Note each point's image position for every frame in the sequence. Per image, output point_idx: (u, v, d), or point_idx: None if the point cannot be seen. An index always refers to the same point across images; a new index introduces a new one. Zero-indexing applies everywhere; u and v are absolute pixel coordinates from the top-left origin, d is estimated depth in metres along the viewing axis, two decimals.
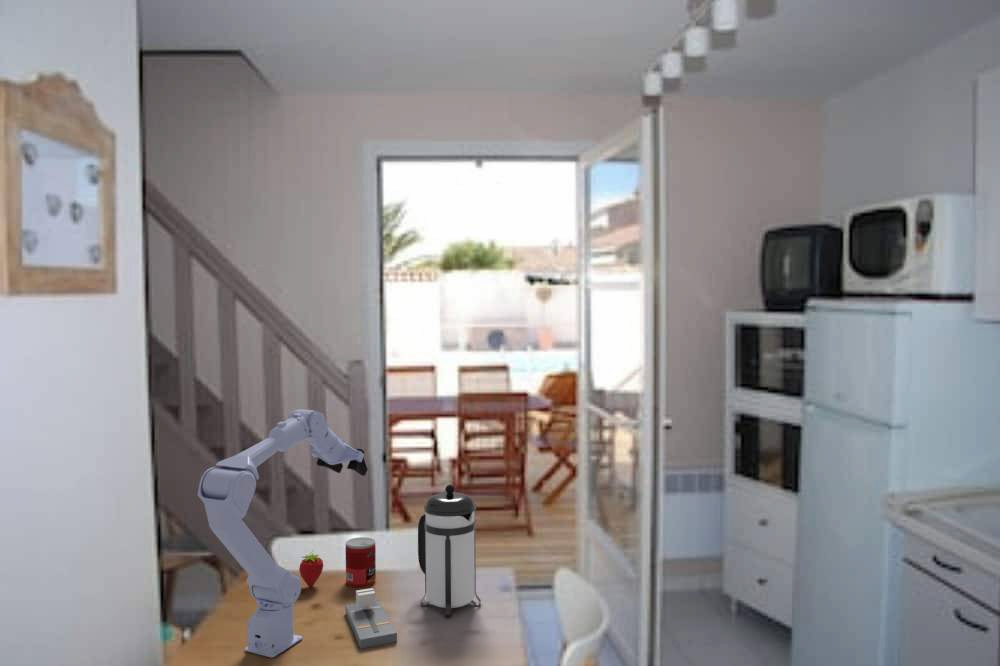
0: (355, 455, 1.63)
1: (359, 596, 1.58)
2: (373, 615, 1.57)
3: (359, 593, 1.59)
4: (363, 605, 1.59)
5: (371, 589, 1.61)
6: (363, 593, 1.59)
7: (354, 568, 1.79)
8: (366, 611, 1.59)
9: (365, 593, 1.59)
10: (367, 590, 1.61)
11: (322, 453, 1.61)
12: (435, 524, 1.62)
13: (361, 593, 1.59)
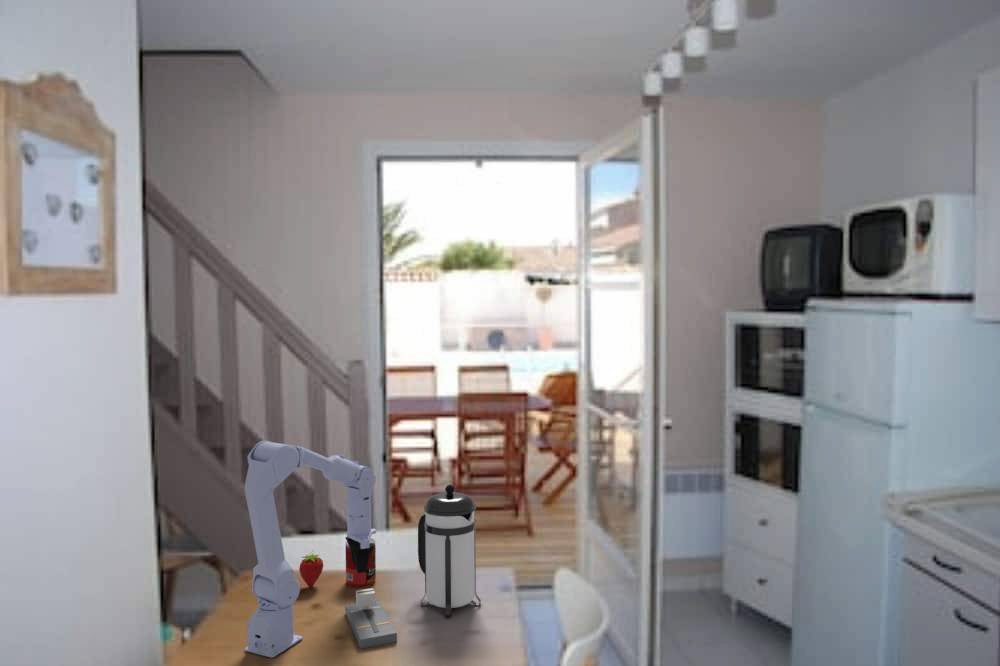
0: (363, 539, 1.61)
1: (359, 596, 1.58)
2: (373, 615, 1.57)
3: (359, 593, 1.59)
4: (363, 605, 1.59)
5: (371, 589, 1.61)
6: (363, 593, 1.59)
7: (354, 568, 1.79)
8: (366, 611, 1.59)
9: (365, 593, 1.59)
10: (367, 590, 1.61)
11: (347, 515, 1.65)
12: (435, 524, 1.62)
13: (361, 593, 1.59)
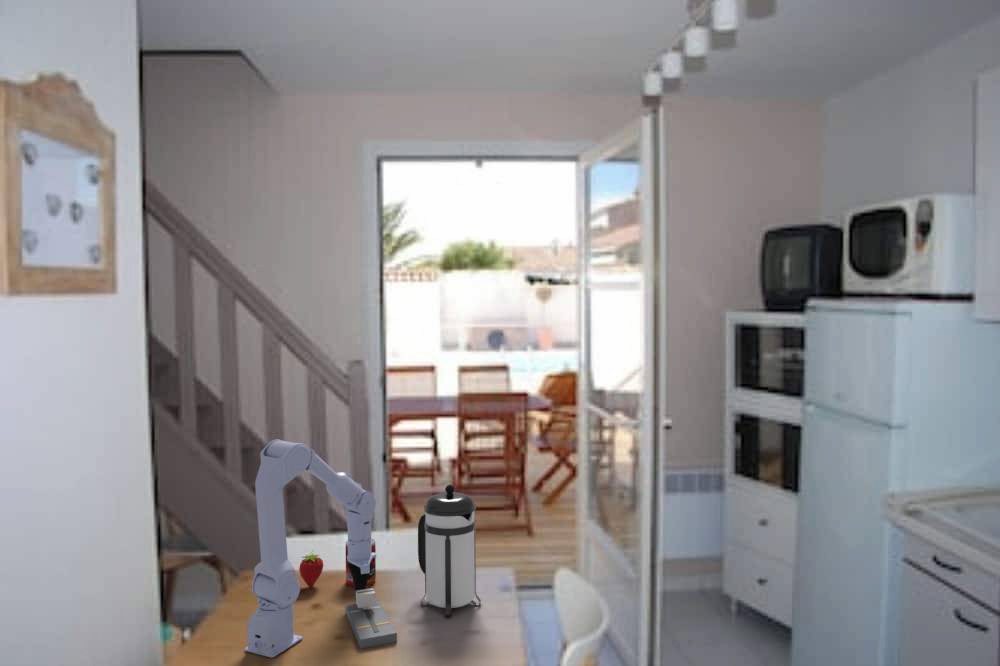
0: (363, 564, 1.61)
1: (359, 596, 1.58)
2: (373, 615, 1.57)
3: (359, 593, 1.59)
4: (363, 605, 1.59)
5: (371, 589, 1.61)
6: (363, 593, 1.59)
7: None
8: (366, 611, 1.59)
9: (365, 593, 1.59)
10: (367, 590, 1.61)
11: (348, 540, 1.65)
12: (435, 524, 1.62)
13: (361, 593, 1.59)
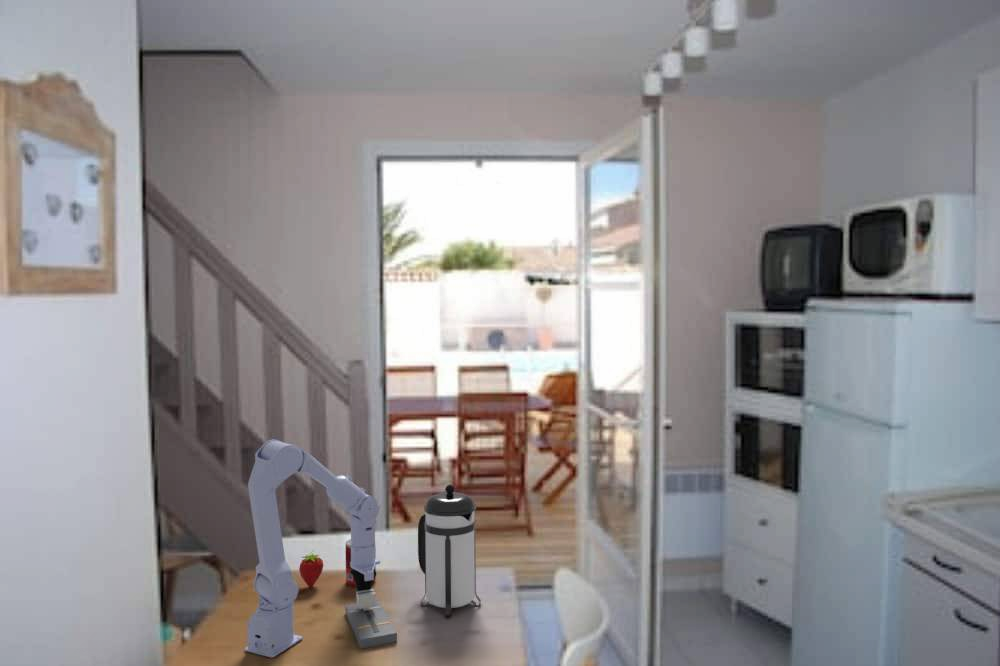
0: (367, 571, 1.57)
1: (359, 597, 1.58)
2: (373, 615, 1.57)
3: (359, 593, 1.59)
4: (363, 606, 1.58)
5: (371, 590, 1.61)
6: (363, 594, 1.59)
7: None
8: (366, 611, 1.59)
9: (365, 594, 1.59)
10: (367, 591, 1.60)
11: (351, 546, 1.61)
12: (435, 524, 1.62)
13: (361, 594, 1.59)
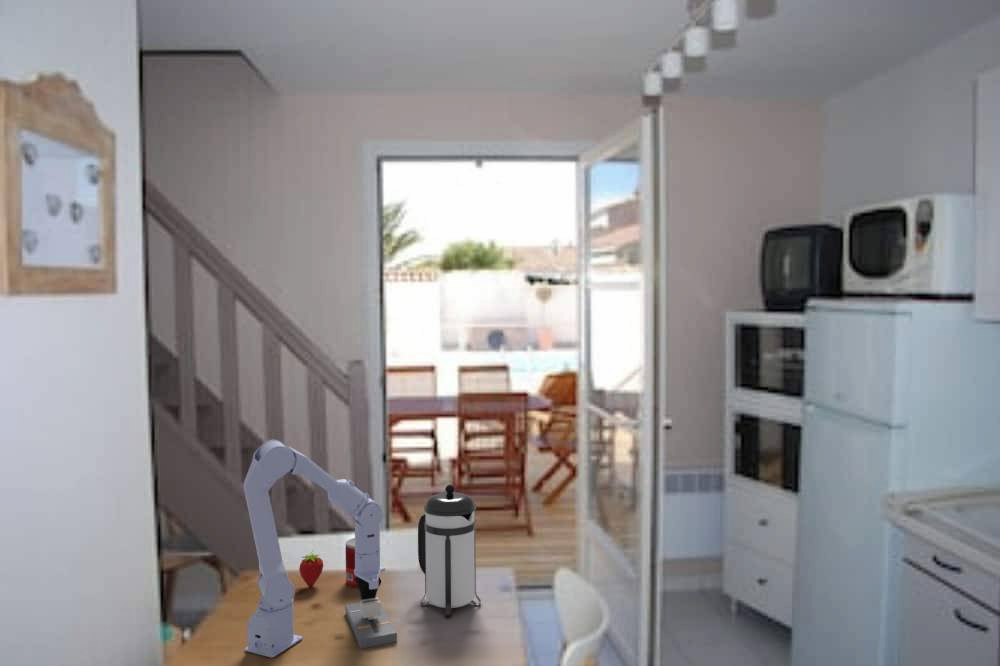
0: (372, 579, 1.52)
1: (364, 606, 1.53)
2: None
3: (363, 602, 1.54)
4: (368, 615, 1.53)
5: (376, 598, 1.56)
6: (368, 603, 1.54)
7: (354, 568, 1.79)
8: None
9: (370, 603, 1.54)
10: (372, 599, 1.56)
11: (355, 553, 1.56)
12: (435, 524, 1.62)
13: (366, 603, 1.54)
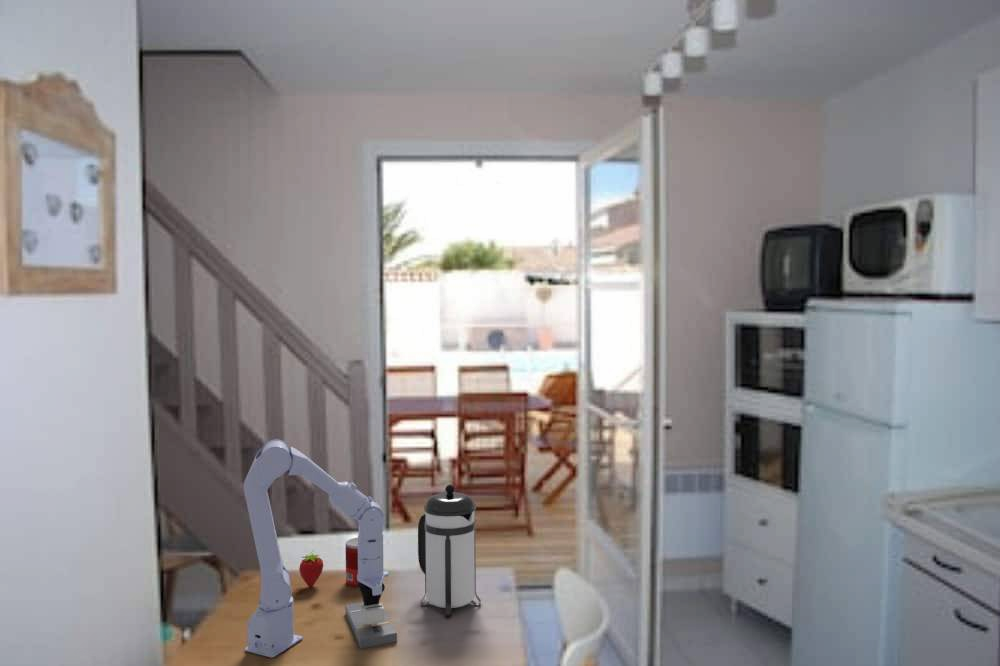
0: (375, 585, 1.49)
1: (367, 612, 1.50)
2: None
3: (367, 608, 1.51)
4: (371, 622, 1.50)
5: (379, 604, 1.53)
6: (371, 609, 1.51)
7: (354, 568, 1.79)
8: None
9: (373, 609, 1.51)
10: (375, 605, 1.52)
11: (358, 558, 1.53)
12: (435, 524, 1.62)
13: (369, 609, 1.50)
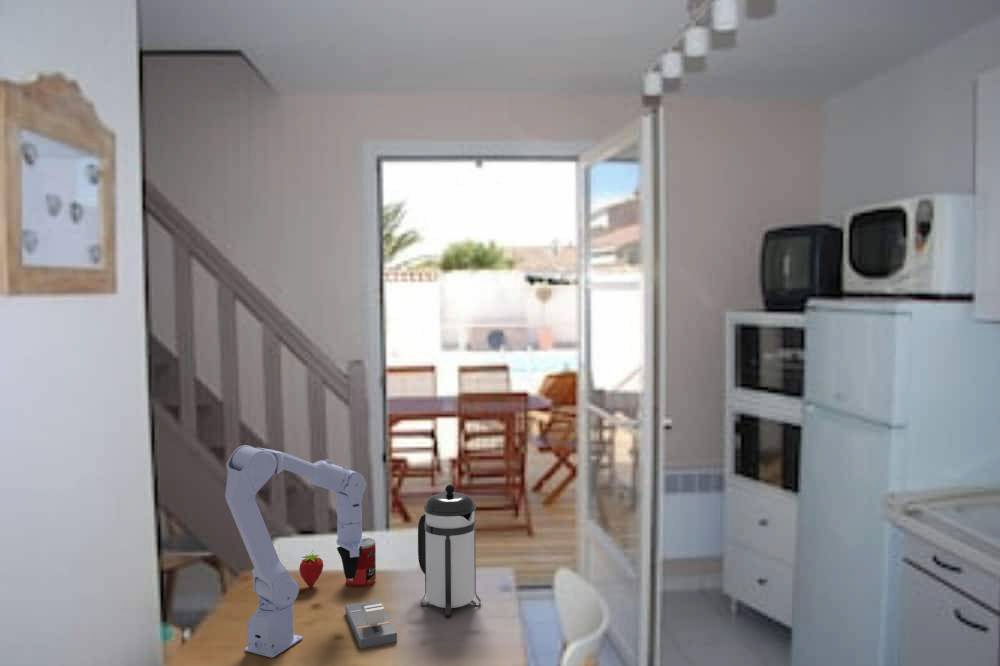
0: (353, 547, 1.55)
1: (367, 612, 1.49)
2: None
3: (367, 608, 1.51)
4: (371, 622, 1.50)
5: (380, 605, 1.53)
6: (371, 609, 1.50)
7: None
8: None
9: (373, 609, 1.50)
10: (375, 606, 1.52)
11: (337, 522, 1.60)
12: (435, 524, 1.62)
13: (369, 609, 1.50)
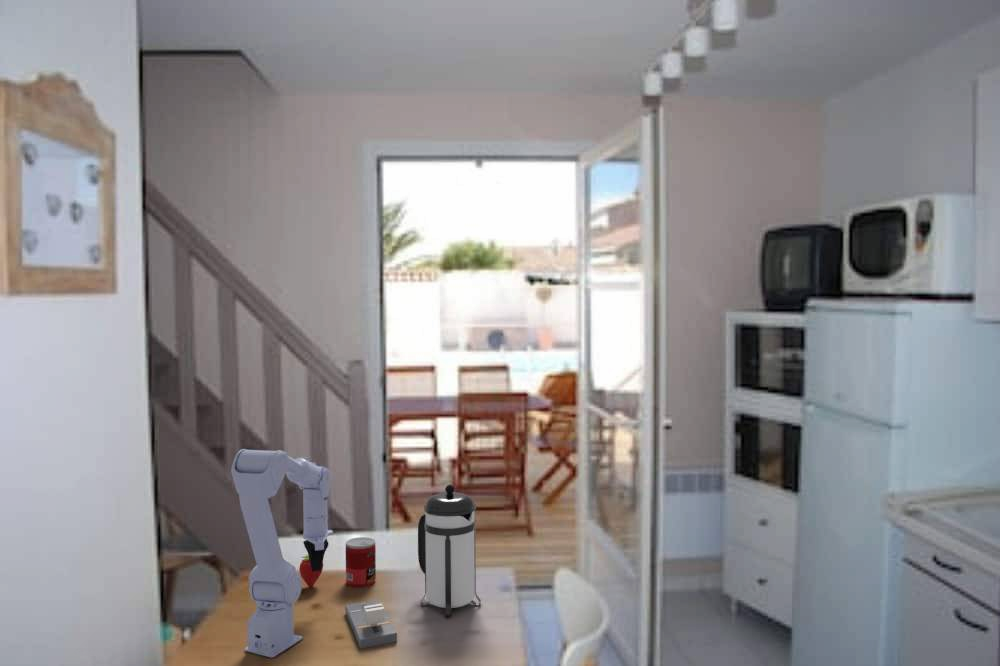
0: (318, 541, 1.60)
1: (367, 612, 1.49)
2: None
3: (367, 608, 1.51)
4: (371, 622, 1.50)
5: (380, 605, 1.53)
6: (371, 609, 1.50)
7: (354, 568, 1.79)
8: None
9: (373, 609, 1.50)
10: (375, 606, 1.52)
11: (303, 517, 1.64)
12: (435, 524, 1.62)
13: (369, 609, 1.50)
